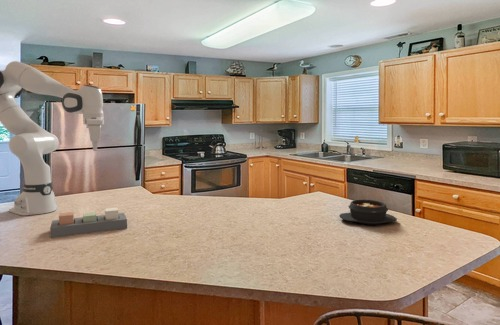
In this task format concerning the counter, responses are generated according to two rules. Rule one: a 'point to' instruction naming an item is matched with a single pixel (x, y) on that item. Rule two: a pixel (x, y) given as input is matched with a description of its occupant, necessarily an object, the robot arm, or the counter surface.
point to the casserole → (368, 212)
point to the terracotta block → (66, 218)
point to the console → (87, 226)
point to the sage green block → (89, 217)
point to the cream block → (111, 213)
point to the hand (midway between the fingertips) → (95, 150)
